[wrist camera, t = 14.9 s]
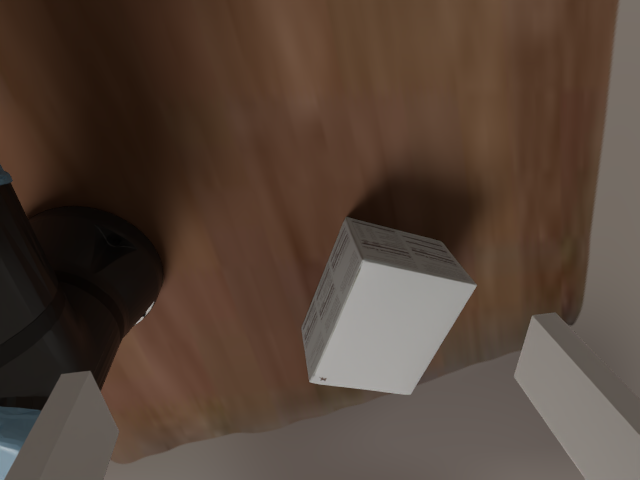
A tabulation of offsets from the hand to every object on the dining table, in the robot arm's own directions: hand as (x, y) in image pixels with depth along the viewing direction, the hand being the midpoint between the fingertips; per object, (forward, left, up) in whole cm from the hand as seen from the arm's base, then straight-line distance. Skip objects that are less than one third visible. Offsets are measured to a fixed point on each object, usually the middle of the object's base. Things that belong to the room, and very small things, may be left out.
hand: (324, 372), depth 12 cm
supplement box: (+10, -21, -31) cm, 39 cm away
